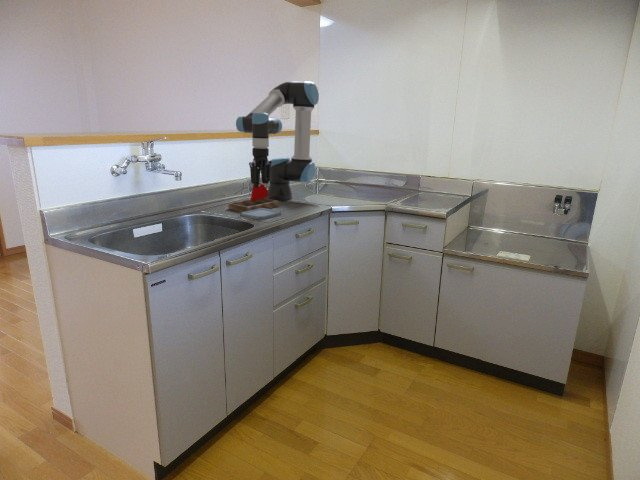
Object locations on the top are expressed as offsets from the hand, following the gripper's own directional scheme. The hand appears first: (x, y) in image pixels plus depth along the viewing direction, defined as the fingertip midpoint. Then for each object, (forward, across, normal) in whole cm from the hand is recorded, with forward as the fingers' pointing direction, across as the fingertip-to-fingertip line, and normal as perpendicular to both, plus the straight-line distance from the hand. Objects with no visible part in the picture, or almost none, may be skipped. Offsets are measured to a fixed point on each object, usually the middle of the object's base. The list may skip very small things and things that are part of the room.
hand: (260, 197), depth 202 cm
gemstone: (+1, +3, +1) cm, 3 cm away
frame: (+9, -10, -14) cm, 19 cm away
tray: (+9, 0, 0) cm, 9 cm away
